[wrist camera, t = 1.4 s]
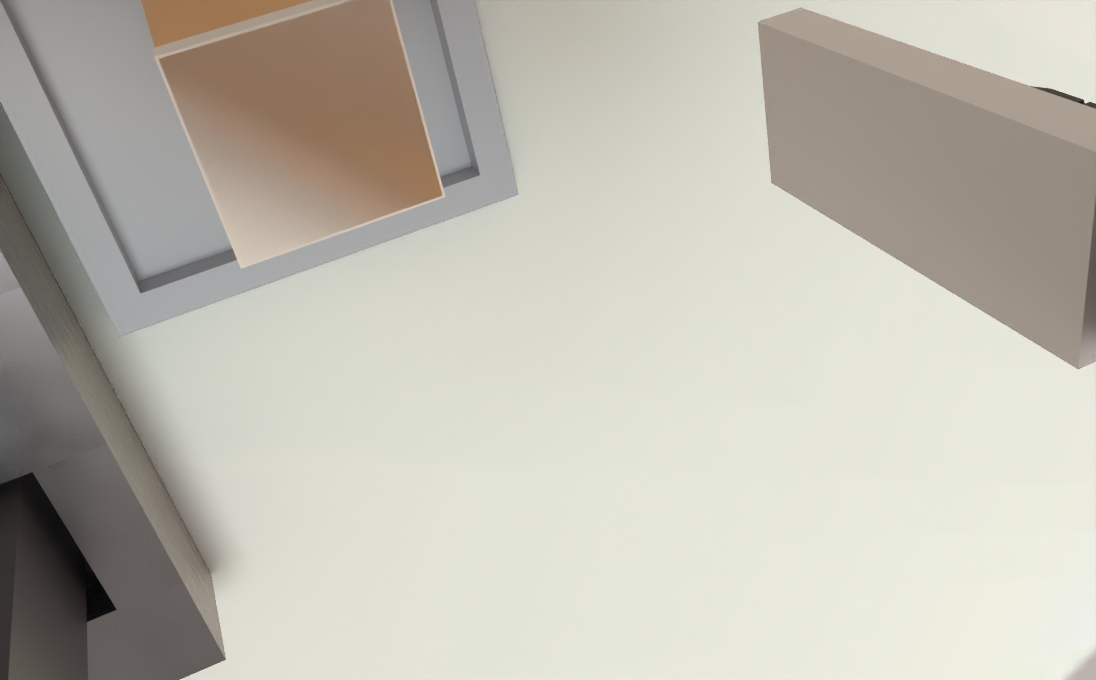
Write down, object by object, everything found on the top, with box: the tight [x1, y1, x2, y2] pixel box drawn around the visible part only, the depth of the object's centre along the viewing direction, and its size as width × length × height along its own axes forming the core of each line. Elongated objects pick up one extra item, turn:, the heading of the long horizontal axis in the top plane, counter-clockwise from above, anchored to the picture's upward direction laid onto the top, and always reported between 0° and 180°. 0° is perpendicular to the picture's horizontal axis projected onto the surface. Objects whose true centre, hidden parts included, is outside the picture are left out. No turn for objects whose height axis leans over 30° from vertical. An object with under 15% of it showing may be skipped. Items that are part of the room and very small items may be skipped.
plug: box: [141, 0, 446, 269], centre depth 23 cm, size 4×4×10 cm
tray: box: [0, 0, 519, 337], centre depth 27 cm, size 14×12×1 cm
